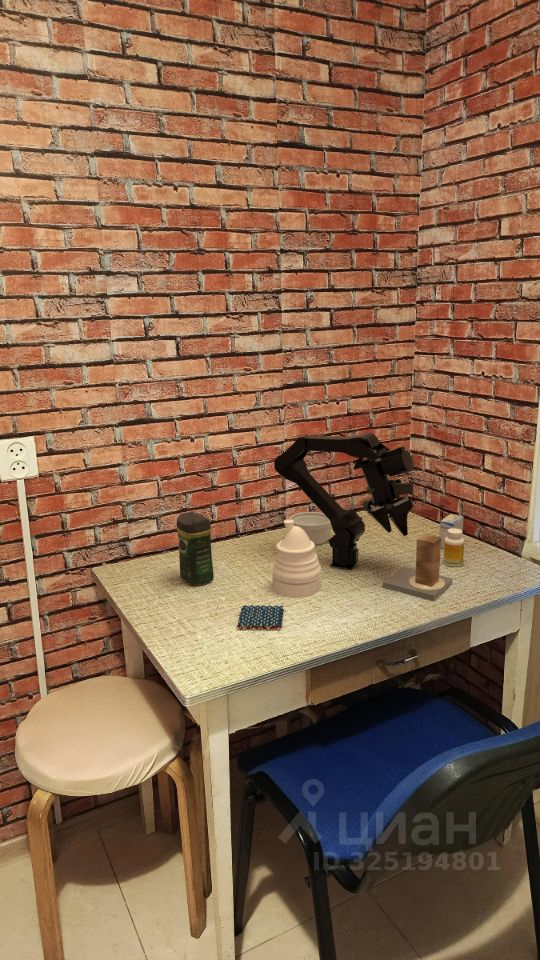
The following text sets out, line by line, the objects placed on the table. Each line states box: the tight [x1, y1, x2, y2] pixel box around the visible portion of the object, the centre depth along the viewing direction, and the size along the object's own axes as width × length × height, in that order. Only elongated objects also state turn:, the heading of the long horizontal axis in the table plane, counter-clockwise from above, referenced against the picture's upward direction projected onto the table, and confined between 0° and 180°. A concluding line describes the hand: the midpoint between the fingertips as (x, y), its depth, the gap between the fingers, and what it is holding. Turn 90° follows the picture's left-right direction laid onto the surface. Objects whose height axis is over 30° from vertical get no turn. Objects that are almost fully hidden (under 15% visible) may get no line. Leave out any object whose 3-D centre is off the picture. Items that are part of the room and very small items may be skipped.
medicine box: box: [438, 513, 464, 550], centre depth 193 cm, size 8×4×9 cm, turn 144°
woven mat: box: [236, 604, 285, 632], centre depth 152 cm, size 10×11×2 cm
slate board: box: [382, 565, 453, 602], centre depth 168 cm, size 14×12×2 cm
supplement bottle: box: [442, 528, 465, 567], centre depth 180 cm, size 5×5×10 cm
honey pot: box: [271, 519, 323, 598], centre depth 167 cm, size 13×13×18 cm
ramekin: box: [289, 511, 332, 546], centre depth 201 cm, size 13×13×7 cm
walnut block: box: [415, 533, 442, 587], centre depth 164 cm, size 4×4×12 cm
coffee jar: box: [176, 510, 215, 586], centre depth 173 cm, size 10×8×19 cm
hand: (397, 533), depth 172 cm, fingers open, 9 cm apart
